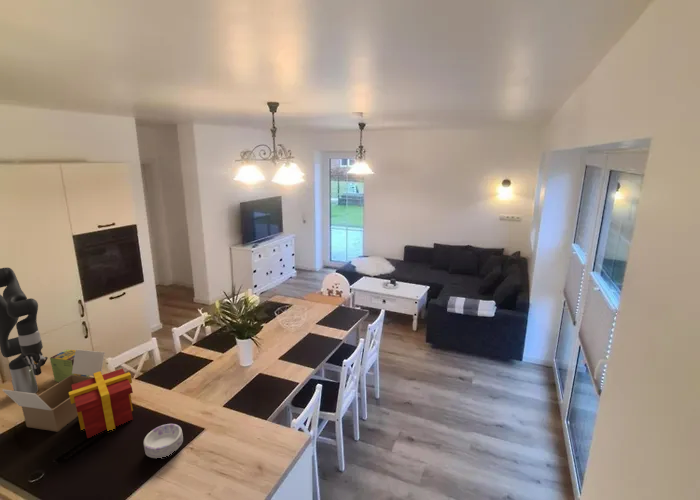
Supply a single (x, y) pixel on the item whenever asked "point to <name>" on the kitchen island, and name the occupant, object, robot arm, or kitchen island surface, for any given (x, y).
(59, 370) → the protein box
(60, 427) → the carton
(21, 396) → the near flap
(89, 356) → the far flap
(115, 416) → the gift box
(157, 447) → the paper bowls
